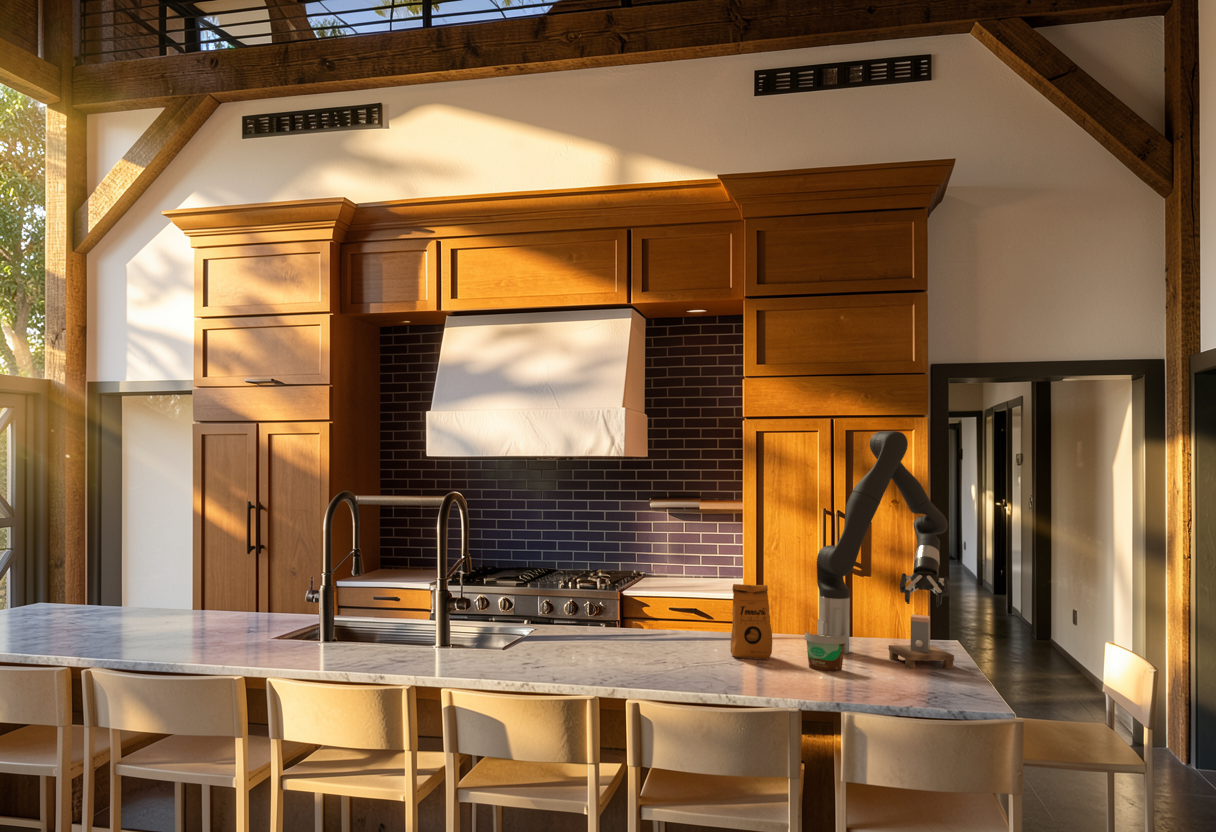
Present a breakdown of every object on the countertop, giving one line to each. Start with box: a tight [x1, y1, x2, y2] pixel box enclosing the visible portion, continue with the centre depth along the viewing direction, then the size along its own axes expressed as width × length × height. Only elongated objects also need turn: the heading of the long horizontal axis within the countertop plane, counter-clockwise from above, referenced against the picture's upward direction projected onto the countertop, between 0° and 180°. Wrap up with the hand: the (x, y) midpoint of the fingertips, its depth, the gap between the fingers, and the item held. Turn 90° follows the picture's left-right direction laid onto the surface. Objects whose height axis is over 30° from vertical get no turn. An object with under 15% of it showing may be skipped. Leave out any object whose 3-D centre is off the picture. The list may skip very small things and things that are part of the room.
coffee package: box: [730, 583, 773, 660], centre depth 262 cm, size 10×12×22 cm
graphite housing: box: [910, 614, 931, 652], centre depth 258 cm, size 5×6×10 cm
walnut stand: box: [888, 644, 955, 670], centre depth 258 cm, size 14×14×4 cm
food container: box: [803, 630, 847, 673], centre depth 247 cm, size 12×6×10 cm, turn 62°
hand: (922, 603), depth 264 cm, fingers open, 8 cm apart
